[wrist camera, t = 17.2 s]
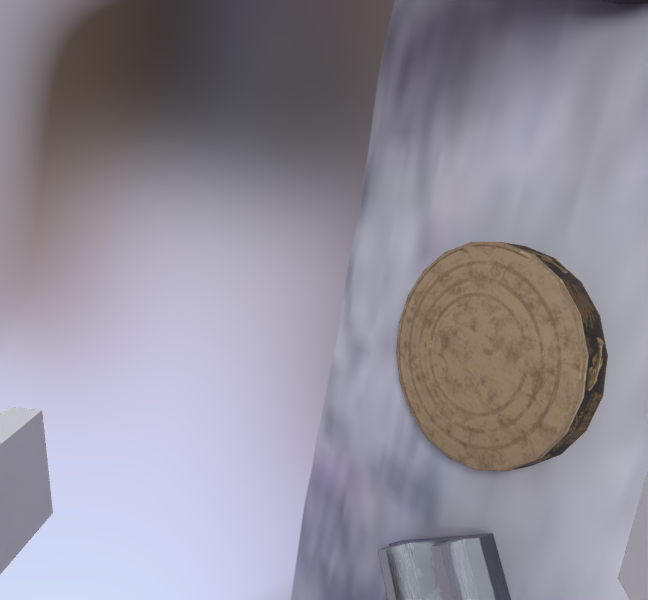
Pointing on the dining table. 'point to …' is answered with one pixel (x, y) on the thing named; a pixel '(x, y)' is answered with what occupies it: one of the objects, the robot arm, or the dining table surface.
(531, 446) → the wood log slice
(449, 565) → the track
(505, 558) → the dining table surface
